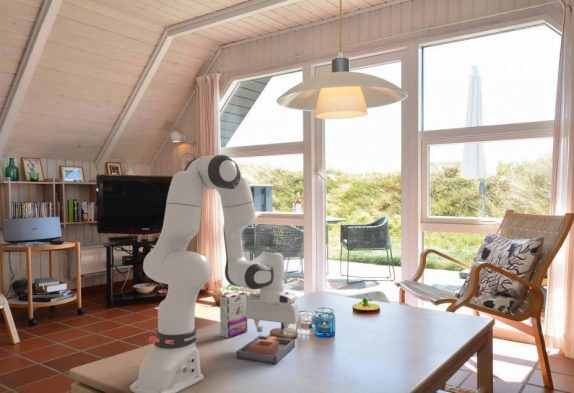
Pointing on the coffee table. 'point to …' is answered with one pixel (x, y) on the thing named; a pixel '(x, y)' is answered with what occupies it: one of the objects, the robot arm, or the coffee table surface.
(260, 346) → the orange hollow block
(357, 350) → the coffee table surface
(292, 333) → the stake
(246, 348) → the tray
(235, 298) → the candy bar box
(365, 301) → the toy character
